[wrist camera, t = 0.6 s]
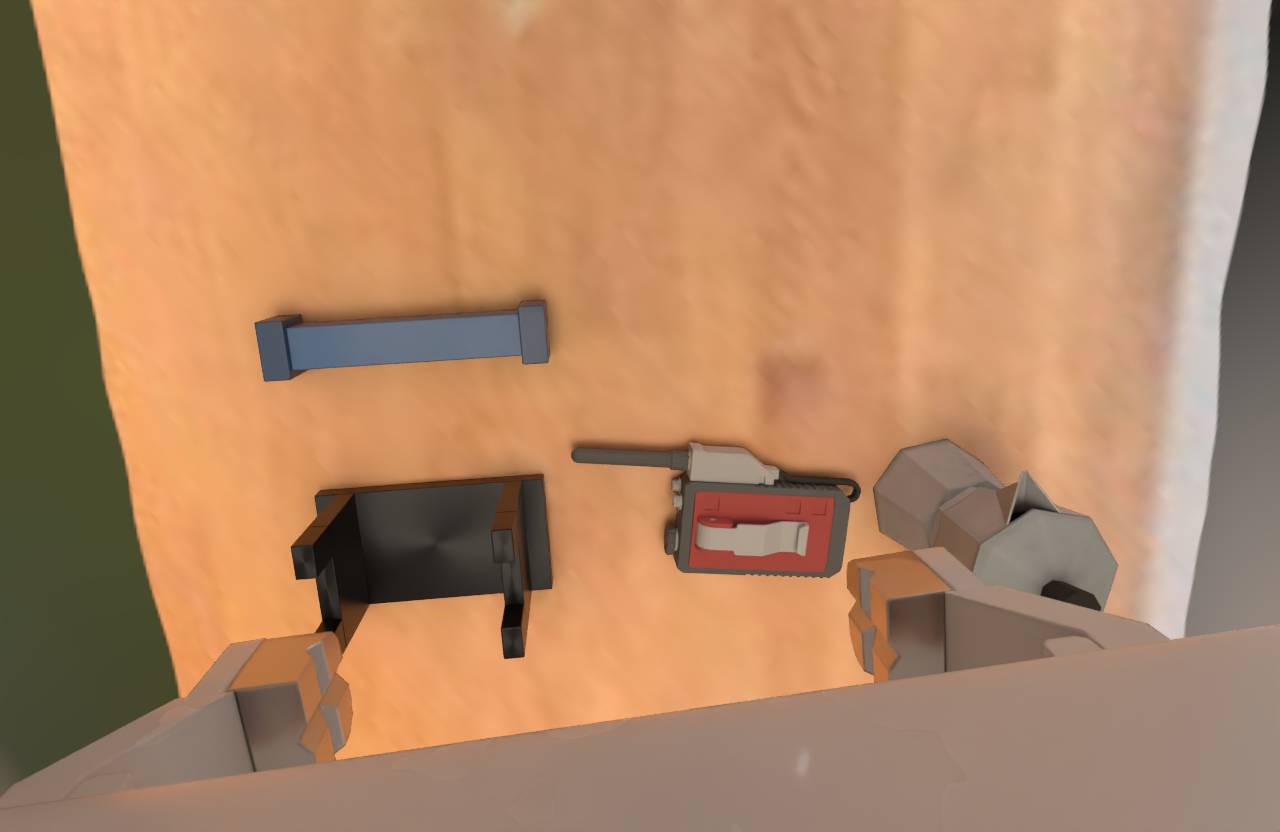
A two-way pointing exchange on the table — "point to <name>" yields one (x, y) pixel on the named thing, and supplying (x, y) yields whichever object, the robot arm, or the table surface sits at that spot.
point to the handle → (401, 340)
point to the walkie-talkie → (745, 512)
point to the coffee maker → (993, 525)
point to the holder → (428, 549)
